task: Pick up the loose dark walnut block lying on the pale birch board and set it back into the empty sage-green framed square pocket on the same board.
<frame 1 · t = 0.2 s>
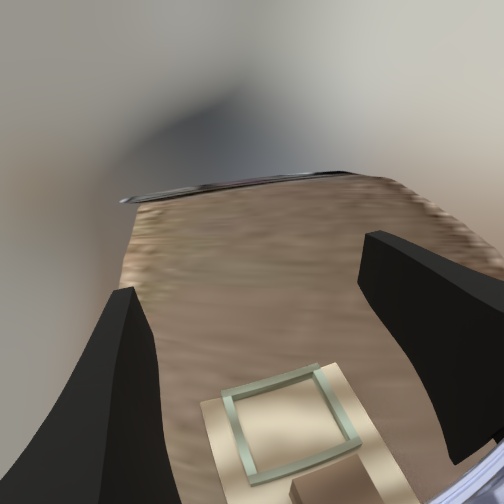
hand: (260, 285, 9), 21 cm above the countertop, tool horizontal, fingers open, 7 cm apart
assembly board: (304, 466, 21), on the countertop
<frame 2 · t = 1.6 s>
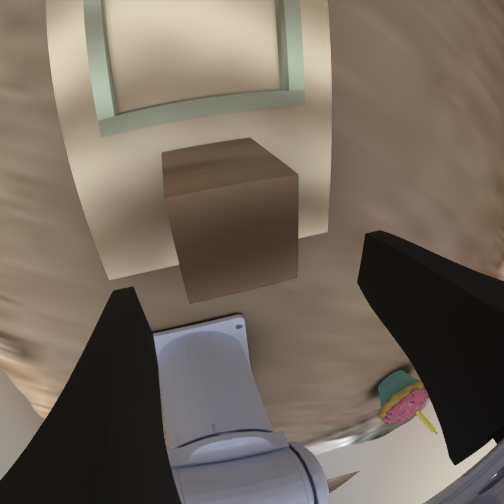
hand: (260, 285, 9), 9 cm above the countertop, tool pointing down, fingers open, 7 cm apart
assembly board: (198, 99, 14), on the countertop
cupcake: (389, 379, 41), on the countertop
walnut block: (211, 184, 16), point 1 cm above the countertop, touching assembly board
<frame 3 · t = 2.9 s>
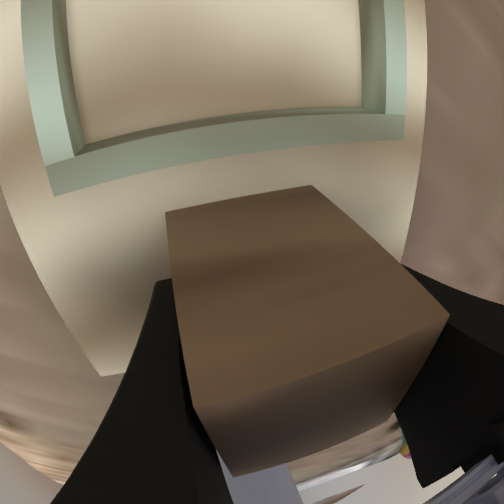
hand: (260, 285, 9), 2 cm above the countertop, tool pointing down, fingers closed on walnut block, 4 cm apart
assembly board: (226, 116, 8), on the countertop
walnut block: (247, 259, 10), point 1 cm above the countertop, touching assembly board, gripper
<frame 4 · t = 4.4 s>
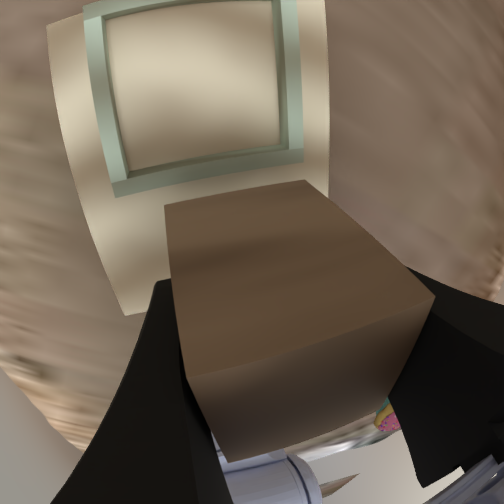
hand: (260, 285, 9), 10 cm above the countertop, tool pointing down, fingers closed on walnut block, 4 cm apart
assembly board: (203, 154, 16), on the countertop
cupcake: (384, 389, 42), on the countertop
walnut block: (242, 251, 11), point 8 cm above the countertop, touching gripper
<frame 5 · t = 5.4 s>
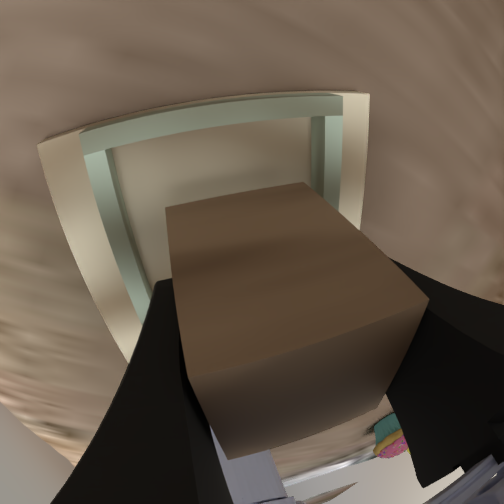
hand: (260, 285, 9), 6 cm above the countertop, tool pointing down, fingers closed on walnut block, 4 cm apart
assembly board: (230, 276, 16), on the countertop
cupcake: (384, 419, 43), on the countertop
walnut block: (242, 252, 11), point 4 cm above the countertop, touching gripper
when the fingers open (4 cm above the countertop, at t = 6.2 s): walnut block stays where it is, resting on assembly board.
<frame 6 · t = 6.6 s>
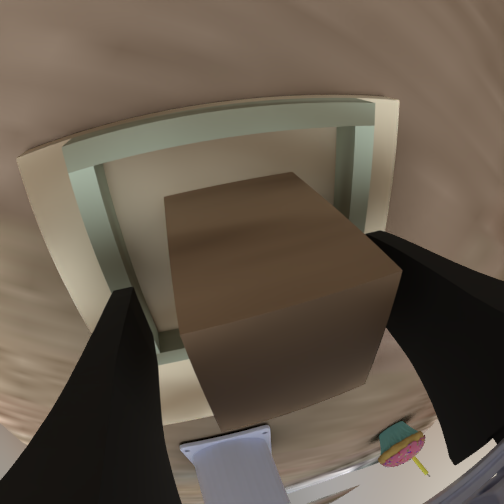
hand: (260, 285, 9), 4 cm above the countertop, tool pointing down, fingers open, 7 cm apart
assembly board: (239, 301, 15), on the countertop
cupcake: (389, 428, 41), on the countertop
walnut block: (236, 238, 11), point 1 cm above the countertop, touching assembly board
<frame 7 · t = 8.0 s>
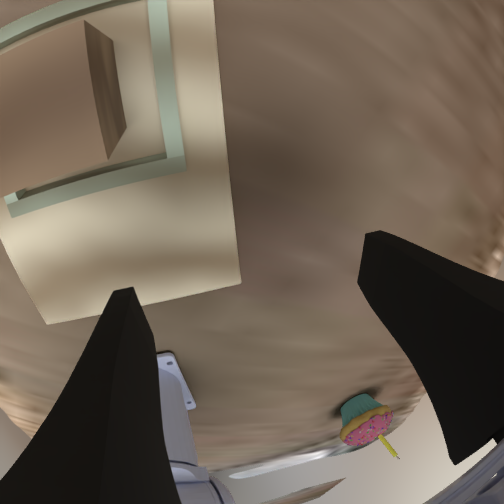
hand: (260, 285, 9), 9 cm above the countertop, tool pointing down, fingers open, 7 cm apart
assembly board: (94, 168, 14), on the countertop
cupcake: (353, 401, 41), on the countertop
walnut block: (74, 97, 11), point 1 cm above the countertop, touching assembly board
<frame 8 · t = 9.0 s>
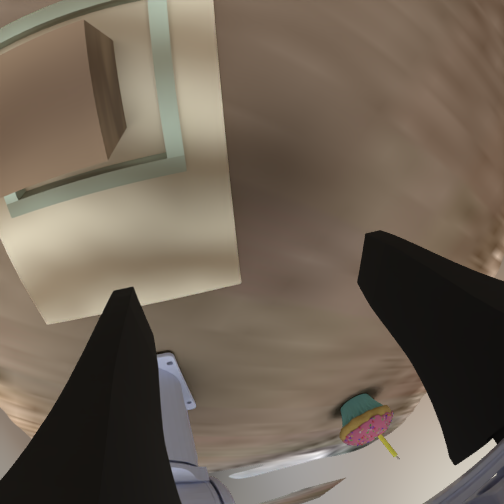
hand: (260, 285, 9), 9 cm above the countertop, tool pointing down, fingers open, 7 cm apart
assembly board: (94, 168, 14), on the countertop
cupcake: (353, 401, 41), on the countertop
walnut block: (74, 97, 11), point 1 cm above the countertop, touching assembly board
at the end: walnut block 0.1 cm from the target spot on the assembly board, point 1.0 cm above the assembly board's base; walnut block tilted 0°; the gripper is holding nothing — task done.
